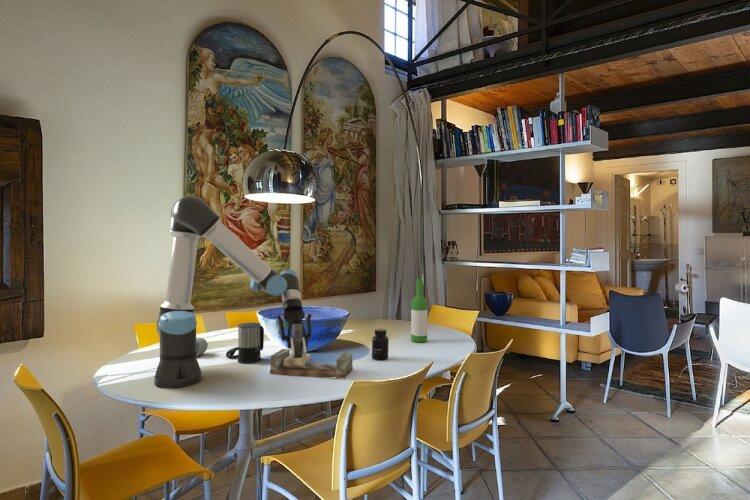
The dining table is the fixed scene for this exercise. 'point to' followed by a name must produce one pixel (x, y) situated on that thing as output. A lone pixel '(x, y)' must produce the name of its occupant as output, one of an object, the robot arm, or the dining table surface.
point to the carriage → (297, 350)
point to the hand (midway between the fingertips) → (299, 354)
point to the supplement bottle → (380, 345)
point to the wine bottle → (419, 315)
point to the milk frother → (248, 343)
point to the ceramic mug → (201, 346)
